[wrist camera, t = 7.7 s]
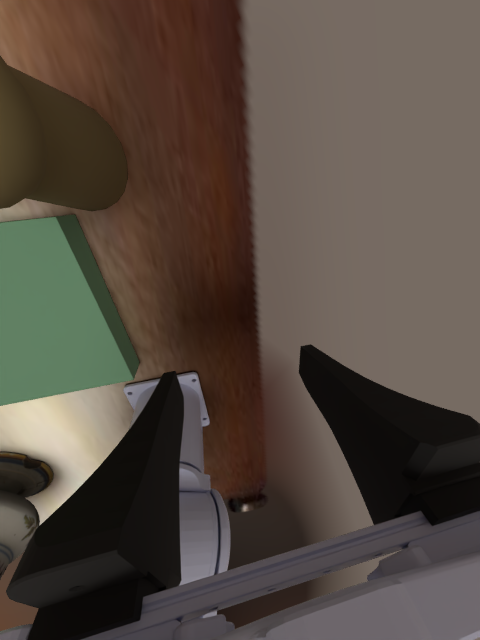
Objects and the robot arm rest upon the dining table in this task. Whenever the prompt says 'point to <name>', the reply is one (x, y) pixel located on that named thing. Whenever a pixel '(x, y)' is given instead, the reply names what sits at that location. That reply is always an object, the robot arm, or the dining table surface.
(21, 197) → the cork
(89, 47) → the dining table surface
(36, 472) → the apothecary jar
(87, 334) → the green
